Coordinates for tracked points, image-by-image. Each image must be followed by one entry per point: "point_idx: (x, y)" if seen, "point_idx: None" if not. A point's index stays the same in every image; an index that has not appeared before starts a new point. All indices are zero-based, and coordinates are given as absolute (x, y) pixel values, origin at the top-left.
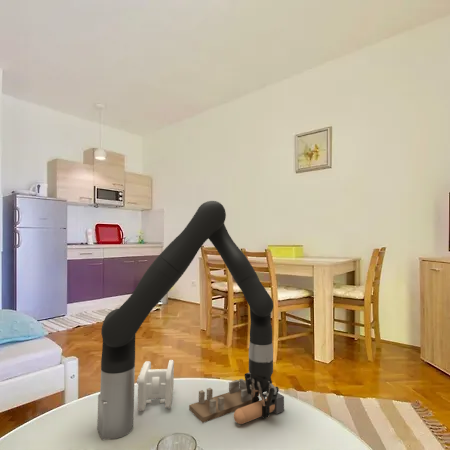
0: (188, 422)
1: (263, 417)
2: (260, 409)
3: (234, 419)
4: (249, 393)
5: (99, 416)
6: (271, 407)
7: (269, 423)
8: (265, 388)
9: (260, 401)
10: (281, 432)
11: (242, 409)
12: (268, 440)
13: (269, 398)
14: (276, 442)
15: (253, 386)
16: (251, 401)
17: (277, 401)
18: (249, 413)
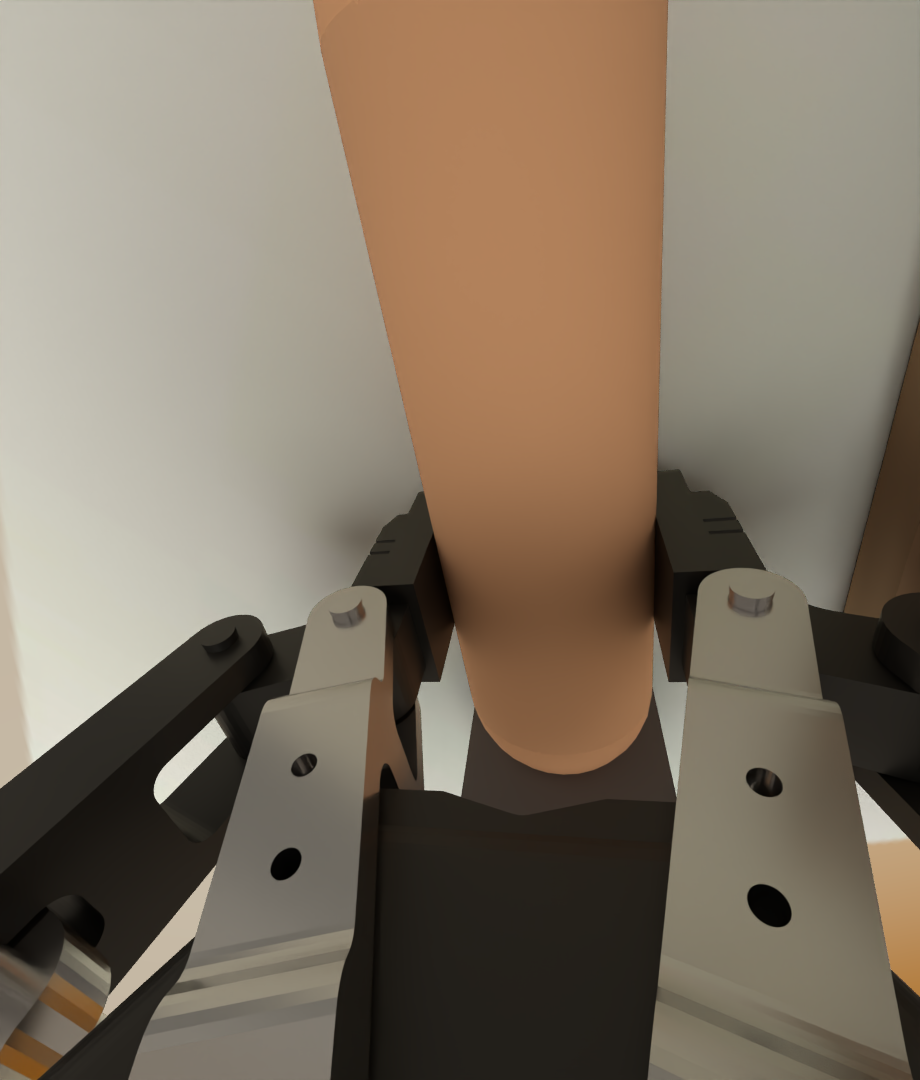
0: None
1: (420, 493)
2: (431, 519)
3: None
4: (882, 610)
5: None
6: (466, 673)
7: (372, 507)
8: (118, 1009)
9: (553, 631)
10: (194, 518)
11: (430, 33)
12: (62, 305)
13: (67, 761)
14: (30, 372)
15: (714, 875)
16: (886, 581)
17: (466, 786)
18: (370, 243)
